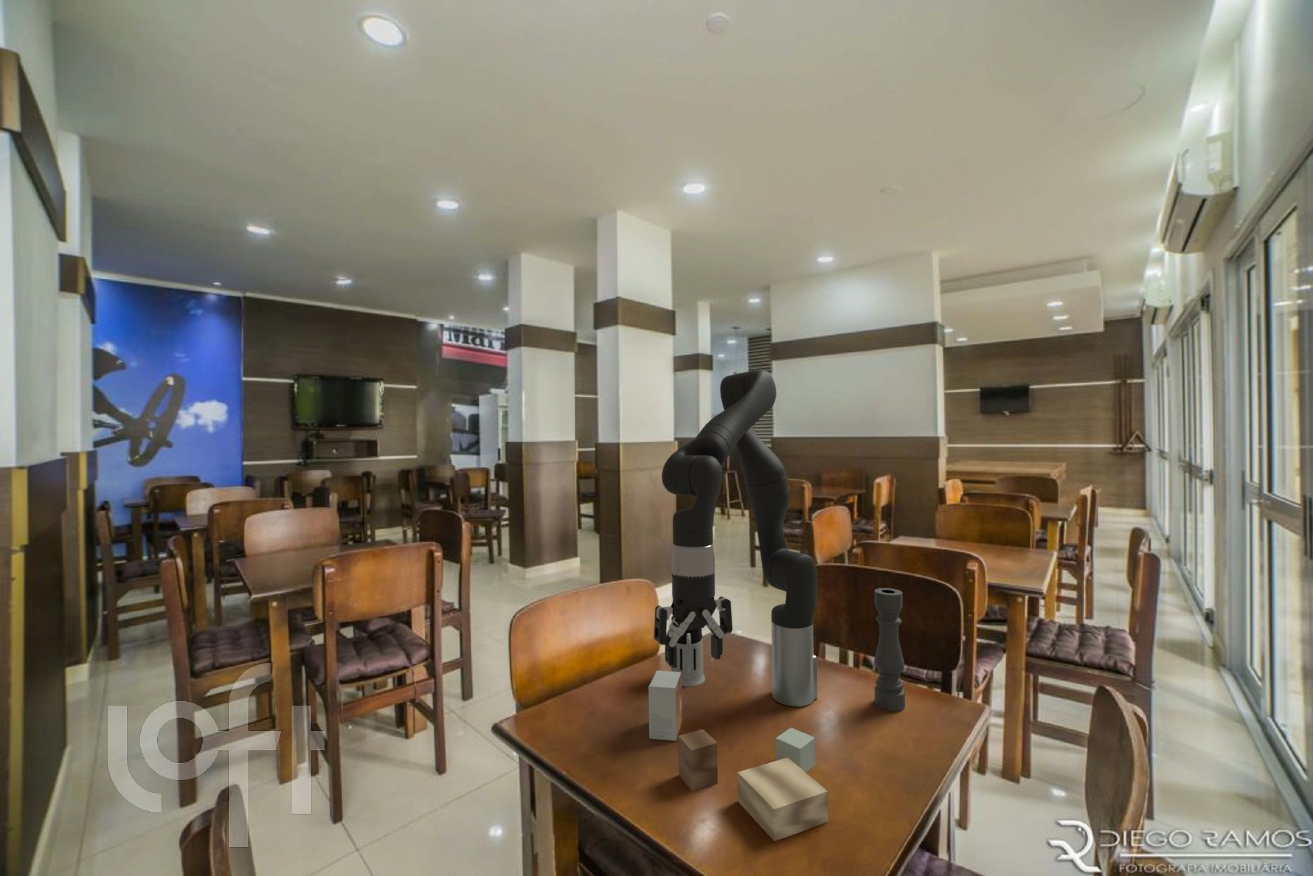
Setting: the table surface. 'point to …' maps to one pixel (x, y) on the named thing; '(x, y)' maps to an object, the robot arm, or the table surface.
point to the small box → (665, 705)
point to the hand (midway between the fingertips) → (694, 662)
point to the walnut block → (698, 759)
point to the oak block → (782, 798)
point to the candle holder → (889, 651)
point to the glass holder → (690, 657)
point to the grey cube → (796, 748)
